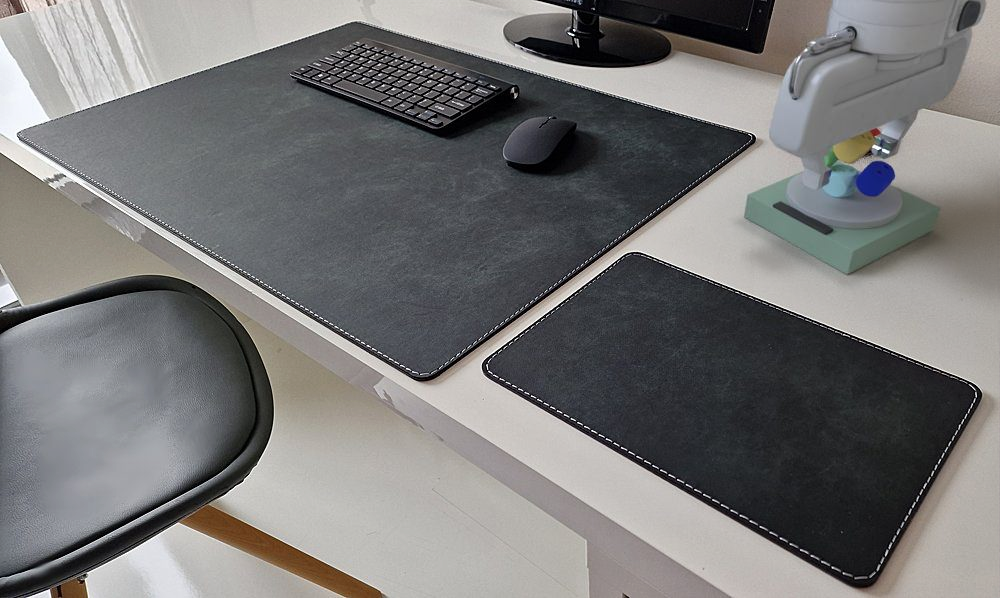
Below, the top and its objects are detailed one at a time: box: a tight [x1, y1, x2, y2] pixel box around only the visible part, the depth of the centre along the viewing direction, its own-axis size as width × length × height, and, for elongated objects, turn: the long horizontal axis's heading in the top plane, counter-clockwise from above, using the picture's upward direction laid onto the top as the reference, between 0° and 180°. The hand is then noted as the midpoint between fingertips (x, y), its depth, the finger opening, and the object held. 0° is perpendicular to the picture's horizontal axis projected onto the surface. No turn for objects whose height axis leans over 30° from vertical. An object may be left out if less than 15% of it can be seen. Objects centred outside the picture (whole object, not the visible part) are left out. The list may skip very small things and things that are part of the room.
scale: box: [743, 160, 941, 275], centre depth 74 cm, size 12×12×3 cm
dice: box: [823, 131, 896, 198], centre depth 71 cm, size 8×3×6 cm, turn 44°
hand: (849, 169), depth 72 cm, fingers open, 8 cm apart
